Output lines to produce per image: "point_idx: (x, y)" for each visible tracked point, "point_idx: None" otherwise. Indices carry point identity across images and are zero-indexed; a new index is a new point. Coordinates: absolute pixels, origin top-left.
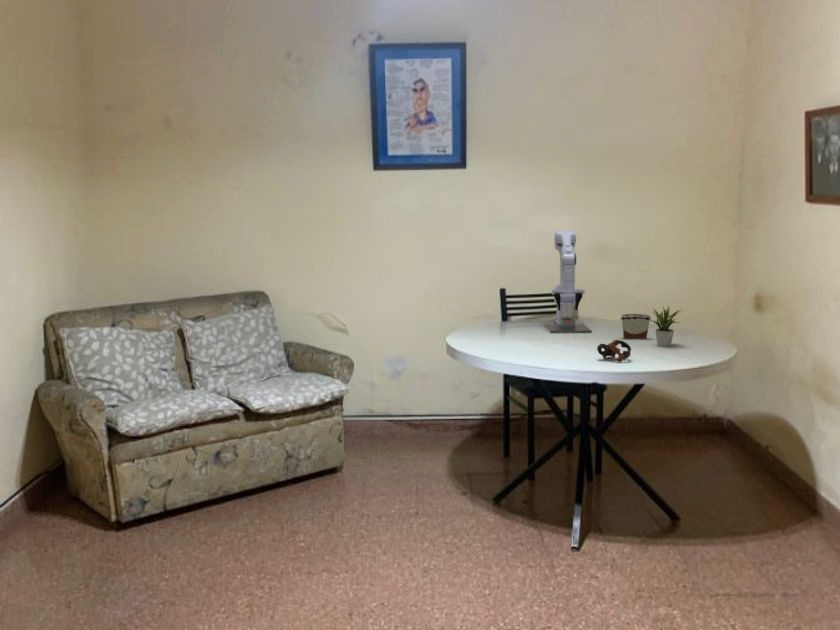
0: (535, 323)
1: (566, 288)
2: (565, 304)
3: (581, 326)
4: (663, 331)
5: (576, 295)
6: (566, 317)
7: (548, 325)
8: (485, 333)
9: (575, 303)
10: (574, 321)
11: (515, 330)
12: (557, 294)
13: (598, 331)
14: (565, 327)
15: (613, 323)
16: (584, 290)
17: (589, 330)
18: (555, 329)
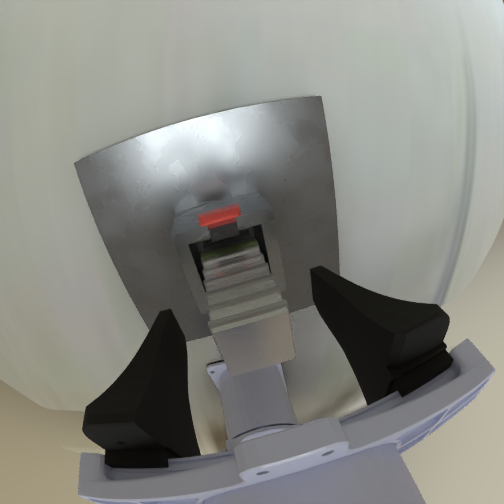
0: None
1: (368, 486)
2: (282, 310)
3: (151, 284)
4: None
5: (170, 440)
6: (242, 244)
7: None
8: (496, 111)
9: (184, 380)
10: (178, 228)
11: (443, 169)
12: (421, 368)
13: (57, 219)
14: (236, 197)
15: (81, 393)
16: (79, 490)
17: (85, 162)
18: (295, 149)
